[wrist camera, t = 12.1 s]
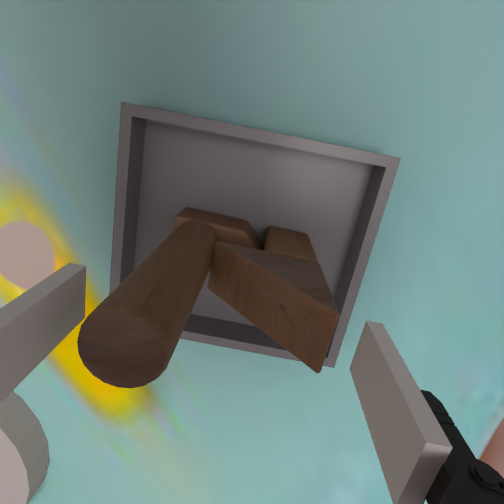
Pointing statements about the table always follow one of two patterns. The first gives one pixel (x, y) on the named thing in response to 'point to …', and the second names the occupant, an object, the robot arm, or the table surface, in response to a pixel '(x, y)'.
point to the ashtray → (20, 451)
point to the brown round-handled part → (221, 284)
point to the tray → (246, 206)
